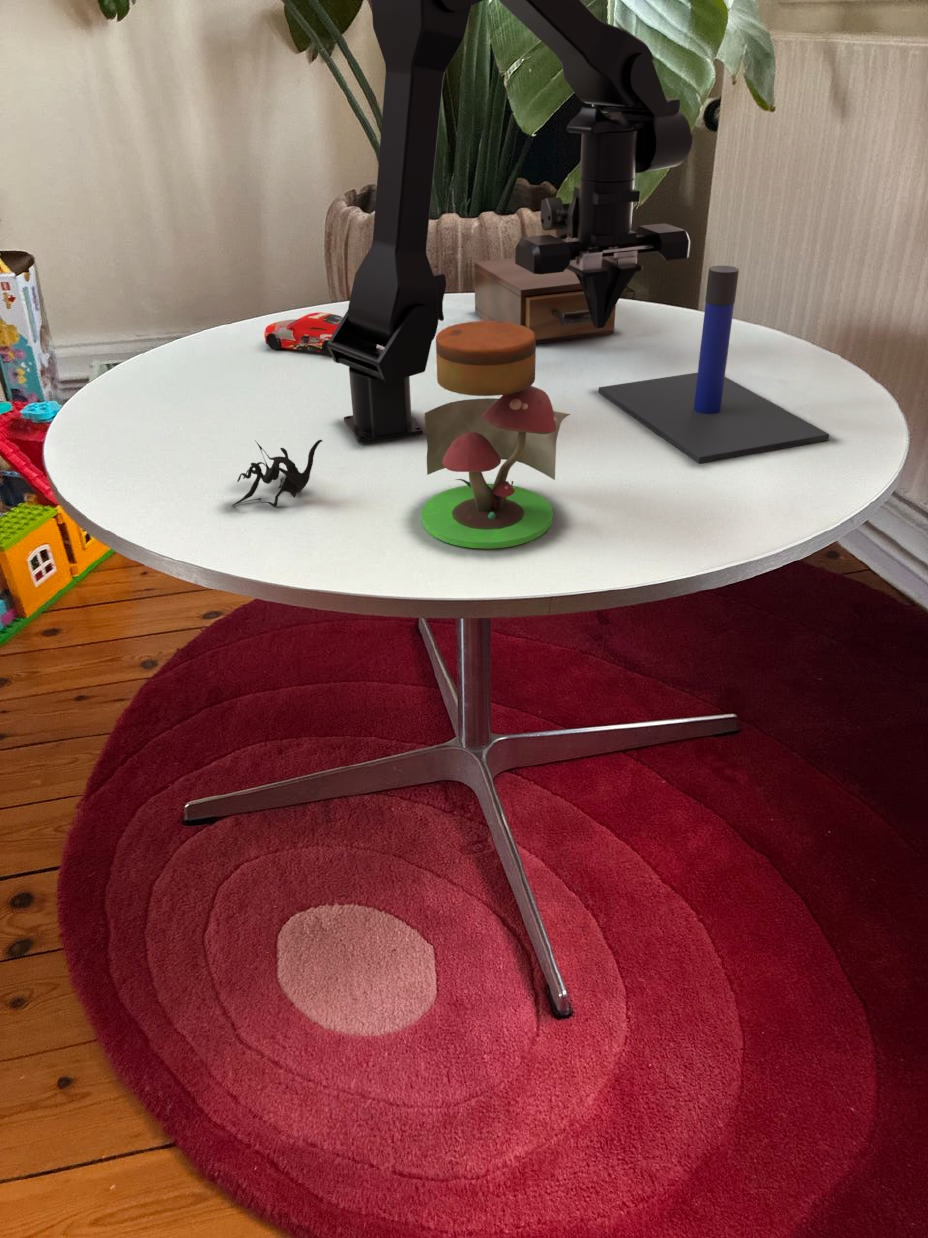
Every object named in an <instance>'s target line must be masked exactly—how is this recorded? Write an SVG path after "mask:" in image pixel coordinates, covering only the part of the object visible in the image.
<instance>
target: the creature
mask: <svg viewBox="0 0 928 1238" xmlns="http://www.w3.org/2000/svg"><path fill="white" fill-rule="evenodd" d="M322 442H323V440H322V439H318V440H316V442H314V444H313V445H312V446H311V447H310V449H309V452H308V456H307V464H306V467H305V469H304V470H303V472H301V471H299V468H298V467H297V466H296V463H295V462H293V460H291V459H290V458H289V454H288V451H287V449H285V448H284V447H280V448H279V449H280V451H281V453H283V454H284V456H278V455H277V456H274V457H270V456H269V455H268V454H267V451H266V450H264V449H263V447H262V446H261V445H260V444H259V443H258V442H257V441H255V443H256V445H257V446H258V448H259V451H260V452H261V454H262V457H263V461H264V462H262V461H259V462H251V463H250V466H249V467H248V469H247V470H246V473H245V472H241V473H240V474H239V475H238V479H237V481H236V483H239V482H240V480H241V479H243V480H244V479H247V480H249V479H251V477H252V474H253V475H256V478H255V480H254V481H253V484H252V485H251V487H250V489H249V491H248V492H247V493H246V494H245V495H244V496H243V497H242V498H241V499H239V500H238V501H236V502H235V503H233V504H232V505H231V507H233V506H235V505H236V506H237V505H238V504H242V503H247V502H252V501H260V503H262V504H269V505H270V506H272V507H274V508H275V507H278V501H279V497H280V495H281V494H282V493H284V492H286V493H289V494H290V495H291V496H292V498H293V499H295V498H296V496H297V494H299V493H301V492H302V491H303V490H304V489H305V487H306V486H307V484H308V483H309V480H310V477H311V472H312V468H313V464H314V457H315V452H316V450H317V448H318V446H319V445H320V444H321V443H322ZM263 452H264V453H265V455H266V456H267V458H268V459H269V460H270V461H273V462H272V465H271V466H268V463H267V461H266V459H265V456H264V454H263ZM280 464H283V465H284V466H285V468H286V469H284V468H282V467H280ZM260 465H264V467H265V468H266V469H265V473H263V471H262V467H261V466H260ZM280 472H281V473H282V474H283V475H284V476H282V477H281V478H280V483H279V486H278V487H277V489H278V490H279V491H278V492H277V493H276V494H275V496H274V502H271V501H261V500H262V497H258V498H253V499H250V500H247V499H249V498H252V496H254V494H255V492H257V489H258V487H259V484H260V481H262V482H263V483H264V484H267V485H269V484H271V483H272V482H273V481H277V480H278V479H279V476H280V474H281V473H280ZM283 478H284V480H283Z"/></svg>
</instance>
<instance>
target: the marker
mask: <svg viewBox="0 0 928 1238" xmlns="http://www.w3.org/2000/svg"><path fill="white" fill-rule="evenodd" d="M739 274H740V270H739V267H736V266H733V265H712V266H710V267H709V268H708V274H707V282H706V290H705V300H704V301H705V306H704V312H703V313H704V314H703V324H702V332H701V339H700V340H701V342H700V349H699V358H698V367H697V373H698V375H697V384H696V393H695V401H694V410H696V411H697V412H700V413H707V414H711V413H717V412H719V411H720V409H721V401H722V394H723V386H724V378H725V377H726V370H727V362H728V353H729V346H730V339H731V332H732V331H731V330H732V324H733V316H734V308H735V303H736V296H737V288H738V281H739Z"/></svg>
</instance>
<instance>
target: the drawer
mask: <svg viewBox="0 0 928 1238" xmlns="http://www.w3.org/2000/svg"><path fill="white" fill-rule="evenodd" d="M616 306H617V304H616V305H615V307H614V309H613V311H612V313H611V315H610V317H609V319H608V321H607V323H606V325H605V326H604V328H598V329H597V328H596V327H594V325H593V322H592V319H591V315H590V312H589V308H588V305H587V301H586V298H585V295H584V292H583V290H575V291H567V292H558V293H550V294H541V295H533V296H527V297H526V311H525V327H527V328H529V329H531V330H532V331H533V332H534V334H535V336H536V340H538V339H545V338H553V337H560V336H568V335H576V334H583V333H591V332H598V331H606V330H613V329H614V330H615V326H616V325H615V324H616V308H617V307H616Z"/></svg>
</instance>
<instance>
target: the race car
mask: <svg viewBox="0 0 928 1238" xmlns="http://www.w3.org/2000/svg"><path fill="white" fill-rule="evenodd" d="M343 317H344V316H342V315H338V314H335V313H329V312H311V313H308V314H305V315H304V316H301V317H299V318H295V319H294V318H293V319H285V320H279V321H275V322H273V323H270V324H269V325H267V326H266V327H265V329H264V331H263V332H264V335H263V337H264V343H265V344H266V345H268V347H269V348H270V349H271V350H273V351H278V350H280V349H282V348H283V349H290V350H291V349H292V350H297V351H298V350H299V351H308V352H316V353H323V352H324V354H325V355H326V356H327V357H329V358H332V356H331V353H330V351H329V349H328V347H327V343H328V341H329V339H330V338H331V336H332V335H333V333H334V331H335V330H336V328H337V327H338V325H339V323H340V322H341V320H342V319H343Z"/></svg>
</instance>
